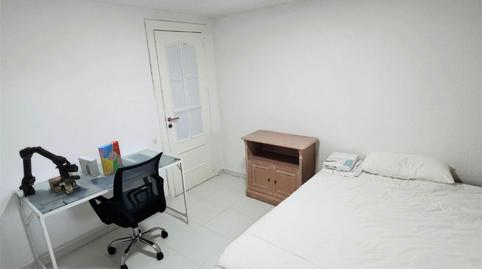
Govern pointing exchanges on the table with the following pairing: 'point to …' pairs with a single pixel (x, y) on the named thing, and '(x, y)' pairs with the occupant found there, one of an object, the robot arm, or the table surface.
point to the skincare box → (89, 165)
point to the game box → (110, 157)
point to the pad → (53, 199)
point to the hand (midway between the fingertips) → (68, 190)
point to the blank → (68, 188)
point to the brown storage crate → (58, 181)
